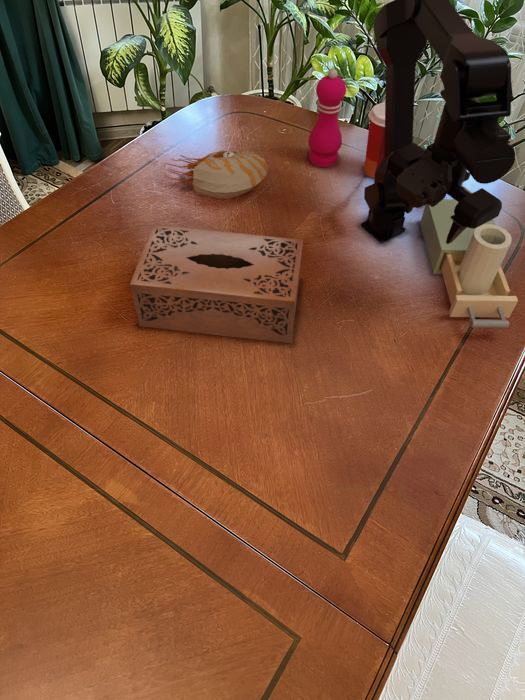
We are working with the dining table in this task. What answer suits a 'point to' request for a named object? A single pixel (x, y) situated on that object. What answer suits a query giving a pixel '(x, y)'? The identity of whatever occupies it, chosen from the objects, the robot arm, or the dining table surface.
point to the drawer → (477, 296)
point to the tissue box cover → (218, 283)
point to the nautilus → (224, 173)
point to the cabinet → (442, 232)
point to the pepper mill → (327, 121)
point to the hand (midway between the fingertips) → (428, 227)
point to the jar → (483, 258)
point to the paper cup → (375, 139)
